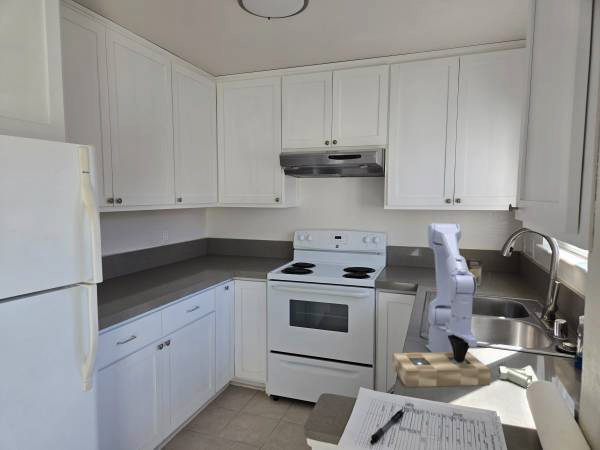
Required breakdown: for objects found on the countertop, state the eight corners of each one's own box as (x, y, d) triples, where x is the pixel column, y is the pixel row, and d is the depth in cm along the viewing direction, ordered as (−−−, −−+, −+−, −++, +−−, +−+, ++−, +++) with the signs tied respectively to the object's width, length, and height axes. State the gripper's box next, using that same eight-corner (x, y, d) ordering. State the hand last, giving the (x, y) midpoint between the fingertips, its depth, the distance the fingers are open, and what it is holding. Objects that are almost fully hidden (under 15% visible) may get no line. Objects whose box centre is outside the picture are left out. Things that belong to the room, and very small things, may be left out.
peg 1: (409, 371, 110) (409, 358, 110) (423, 371, 111) (423, 358, 110) (414, 378, 106) (415, 364, 106) (428, 378, 106) (429, 364, 106)
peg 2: (448, 370, 111) (448, 357, 111) (461, 370, 112) (462, 357, 111) (455, 377, 107) (455, 364, 107) (469, 377, 107) (469, 363, 107)
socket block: (392, 367, 114) (392, 353, 114) (467, 365, 116) (468, 351, 115) (406, 386, 102) (406, 371, 102) (489, 384, 104) (490, 369, 103)
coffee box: (465, 286, 225) (466, 260, 224) (461, 283, 231) (462, 258, 230) (481, 286, 224) (482, 260, 223) (477, 284, 230) (478, 258, 229)
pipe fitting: (536, 392, 101) (527, 379, 108) (537, 379, 101) (528, 366, 107) (503, 388, 103) (497, 375, 110) (504, 375, 103) (498, 363, 109)
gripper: (436, 308, 115) (435, 351, 116) (460, 324, 101) (458, 372, 101) (458, 308, 116) (456, 350, 116) (485, 323, 101) (483, 372, 102)
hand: (459, 361), depth 109 cm, fingers closed, pressing on peg 2
